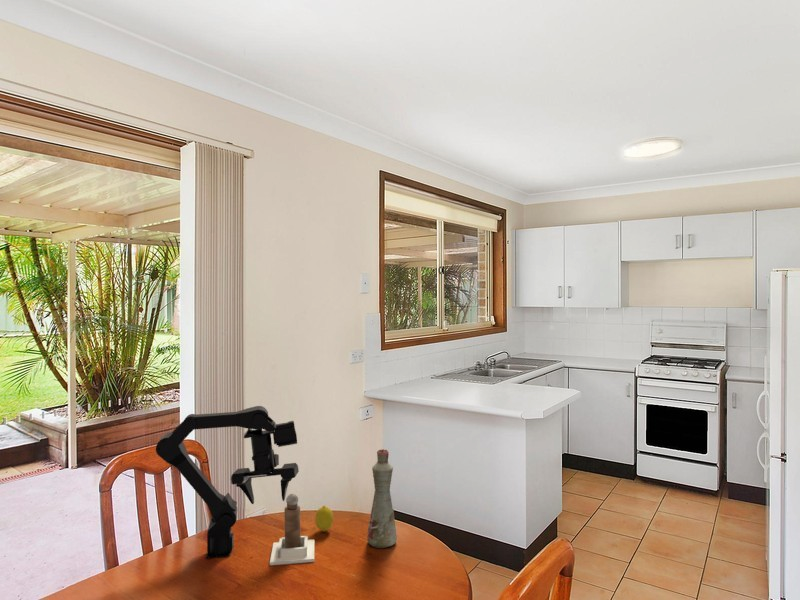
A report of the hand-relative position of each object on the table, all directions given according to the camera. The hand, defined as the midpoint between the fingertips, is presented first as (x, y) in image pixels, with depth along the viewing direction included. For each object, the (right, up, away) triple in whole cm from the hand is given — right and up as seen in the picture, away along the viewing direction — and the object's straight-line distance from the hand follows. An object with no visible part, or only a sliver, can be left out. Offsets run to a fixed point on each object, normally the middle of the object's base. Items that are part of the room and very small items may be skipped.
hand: (268, 502), depth 154 cm
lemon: (+15, -13, +10) cm, 22 cm away
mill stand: (+8, -13, -4) cm, 16 cm away
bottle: (+34, -13, +2) cm, 36 cm away
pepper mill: (+8, -12, -4) cm, 15 cm away
